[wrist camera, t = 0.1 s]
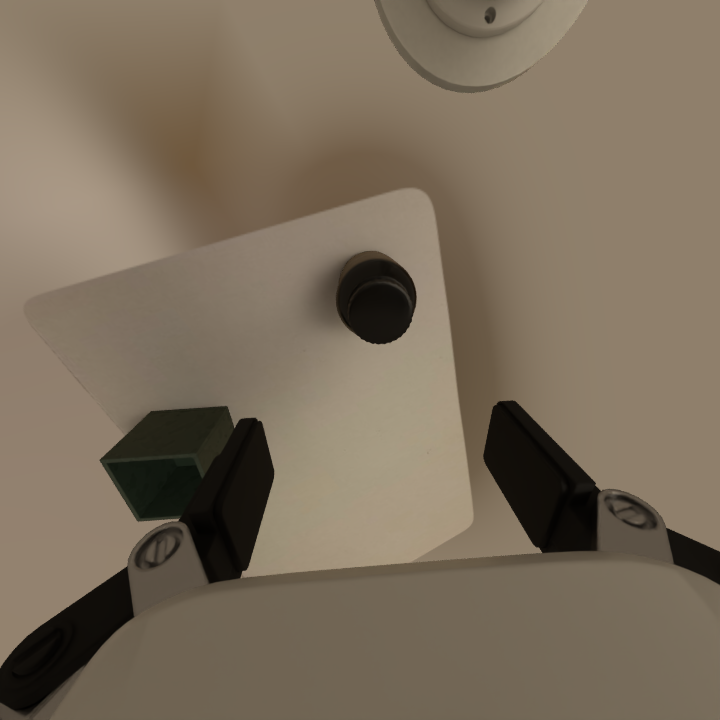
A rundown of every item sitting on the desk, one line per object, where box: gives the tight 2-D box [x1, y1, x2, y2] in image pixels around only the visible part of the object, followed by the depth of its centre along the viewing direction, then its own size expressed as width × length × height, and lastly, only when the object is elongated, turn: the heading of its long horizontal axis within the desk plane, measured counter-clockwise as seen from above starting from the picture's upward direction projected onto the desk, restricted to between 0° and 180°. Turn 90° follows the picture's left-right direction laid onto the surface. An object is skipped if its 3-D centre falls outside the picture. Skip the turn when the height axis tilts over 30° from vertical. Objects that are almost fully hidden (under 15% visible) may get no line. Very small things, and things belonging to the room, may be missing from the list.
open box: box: [100, 406, 234, 521], centre depth 35 cm, size 10×10×8 cm
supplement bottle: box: [336, 251, 417, 344], centre depth 25 cm, size 7×7×12 cm
